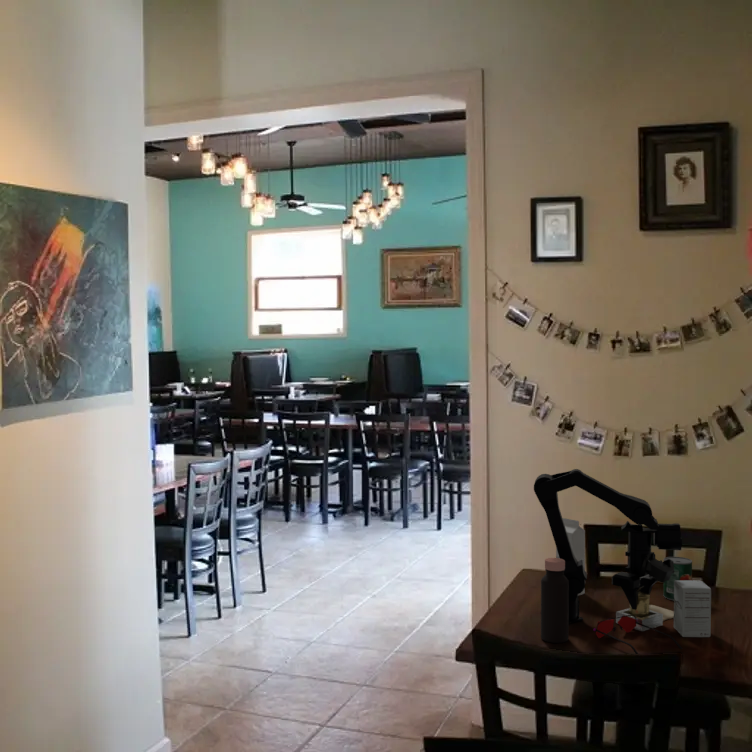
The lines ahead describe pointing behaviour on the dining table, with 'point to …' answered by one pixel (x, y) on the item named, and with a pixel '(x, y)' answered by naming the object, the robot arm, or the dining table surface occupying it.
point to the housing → (643, 619)
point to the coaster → (662, 612)
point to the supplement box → (692, 608)
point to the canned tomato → (677, 574)
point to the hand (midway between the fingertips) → (639, 607)
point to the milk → (575, 541)
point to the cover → (641, 605)
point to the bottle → (554, 602)
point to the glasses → (626, 624)
